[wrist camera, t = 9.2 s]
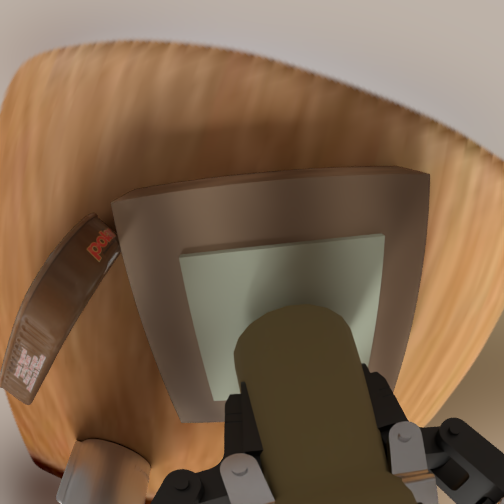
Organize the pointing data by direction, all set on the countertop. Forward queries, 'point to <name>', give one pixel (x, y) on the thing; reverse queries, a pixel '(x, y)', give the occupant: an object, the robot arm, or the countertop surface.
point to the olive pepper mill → (314, 410)
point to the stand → (271, 266)
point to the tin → (56, 304)
